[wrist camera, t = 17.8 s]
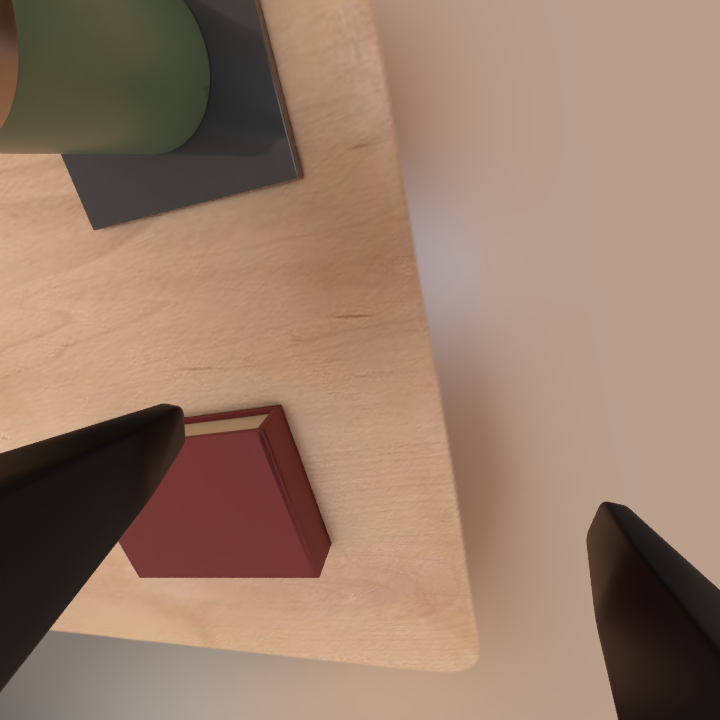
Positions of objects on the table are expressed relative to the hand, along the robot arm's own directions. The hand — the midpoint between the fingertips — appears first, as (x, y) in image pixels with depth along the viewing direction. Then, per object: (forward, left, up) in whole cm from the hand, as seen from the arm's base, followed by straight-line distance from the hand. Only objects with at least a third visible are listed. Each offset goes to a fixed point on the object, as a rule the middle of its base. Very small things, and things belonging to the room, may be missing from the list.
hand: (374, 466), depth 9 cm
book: (+11, +14, -12) cm, 21 cm away
